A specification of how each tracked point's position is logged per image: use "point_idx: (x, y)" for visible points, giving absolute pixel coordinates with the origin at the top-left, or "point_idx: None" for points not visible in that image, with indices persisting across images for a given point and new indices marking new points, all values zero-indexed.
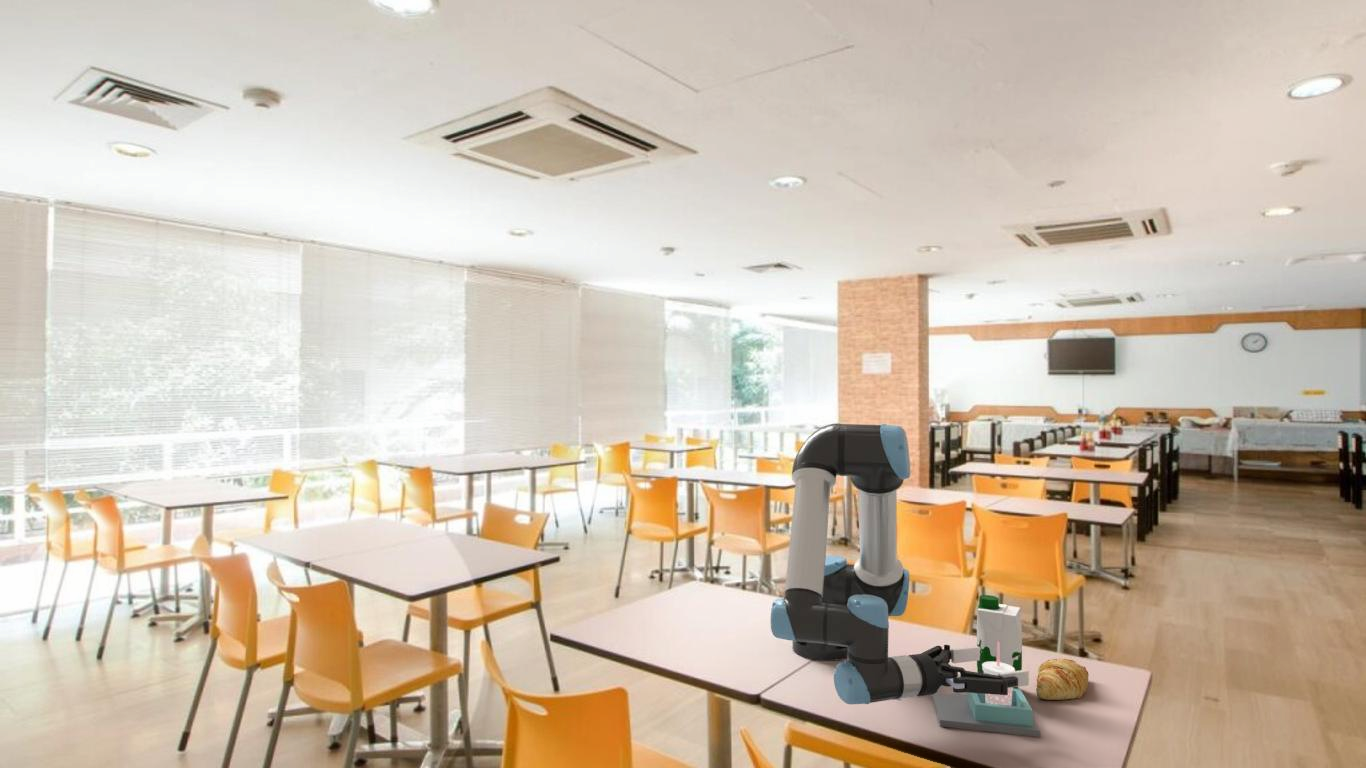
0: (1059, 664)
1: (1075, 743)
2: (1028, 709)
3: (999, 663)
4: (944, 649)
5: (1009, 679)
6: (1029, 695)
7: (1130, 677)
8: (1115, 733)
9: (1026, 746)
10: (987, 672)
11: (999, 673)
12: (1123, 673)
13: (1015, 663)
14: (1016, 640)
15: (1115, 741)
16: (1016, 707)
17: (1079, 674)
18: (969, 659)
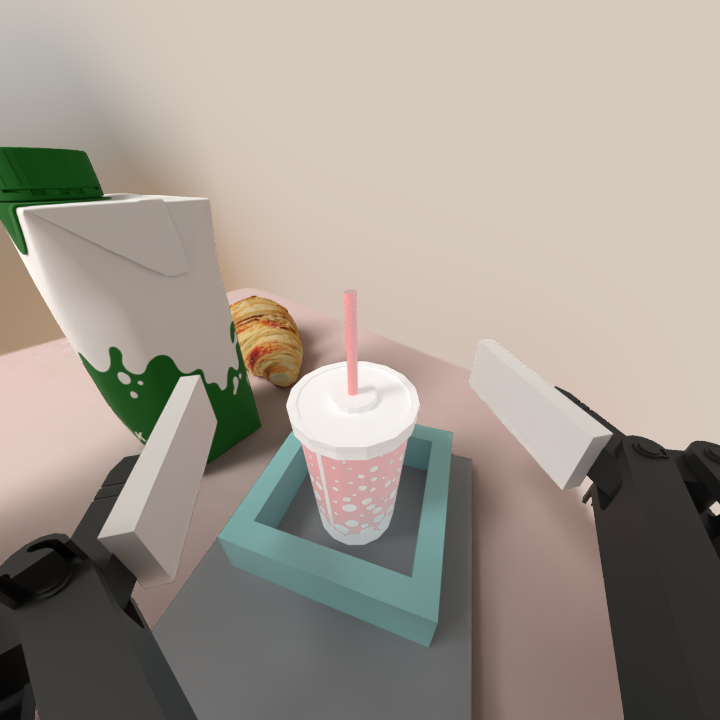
0: (252, 311)
1: (480, 419)
2: (448, 439)
3: (356, 381)
4: (31, 617)
5: (599, 419)
6: (258, 395)
7: (260, 295)
8: (423, 359)
9: (545, 532)
10: (376, 454)
11: (594, 433)
12: (248, 295)
13: (239, 352)
14: (222, 289)
15: (453, 369)
16: (440, 463)
17: (285, 310)
18: (202, 460)
